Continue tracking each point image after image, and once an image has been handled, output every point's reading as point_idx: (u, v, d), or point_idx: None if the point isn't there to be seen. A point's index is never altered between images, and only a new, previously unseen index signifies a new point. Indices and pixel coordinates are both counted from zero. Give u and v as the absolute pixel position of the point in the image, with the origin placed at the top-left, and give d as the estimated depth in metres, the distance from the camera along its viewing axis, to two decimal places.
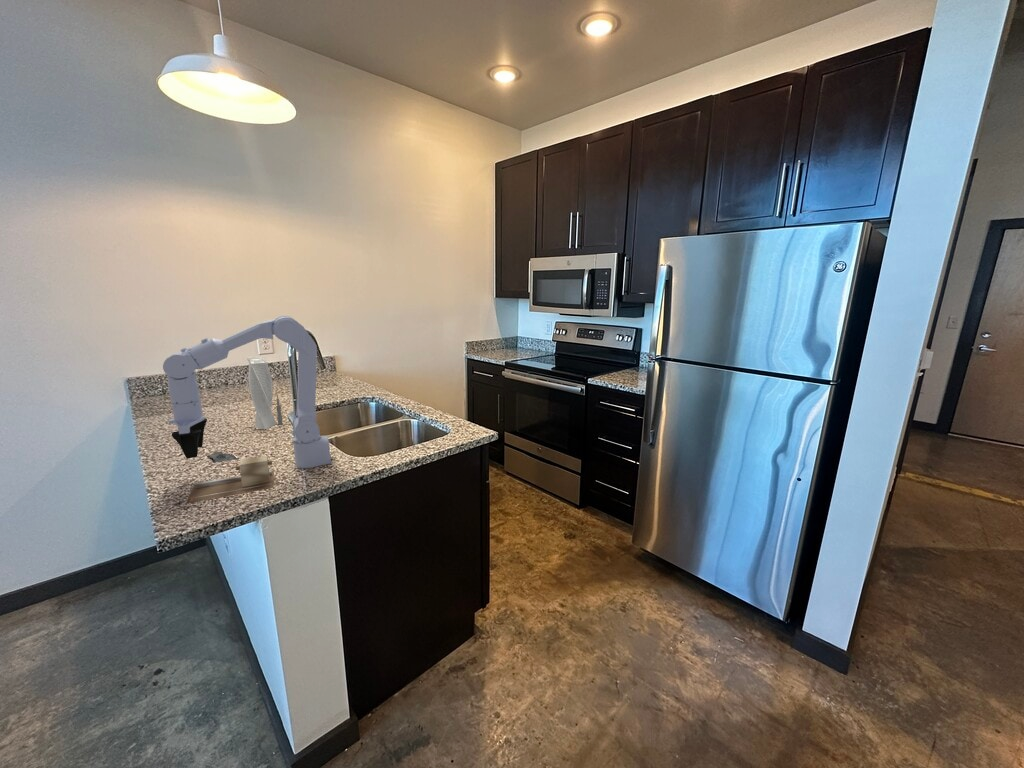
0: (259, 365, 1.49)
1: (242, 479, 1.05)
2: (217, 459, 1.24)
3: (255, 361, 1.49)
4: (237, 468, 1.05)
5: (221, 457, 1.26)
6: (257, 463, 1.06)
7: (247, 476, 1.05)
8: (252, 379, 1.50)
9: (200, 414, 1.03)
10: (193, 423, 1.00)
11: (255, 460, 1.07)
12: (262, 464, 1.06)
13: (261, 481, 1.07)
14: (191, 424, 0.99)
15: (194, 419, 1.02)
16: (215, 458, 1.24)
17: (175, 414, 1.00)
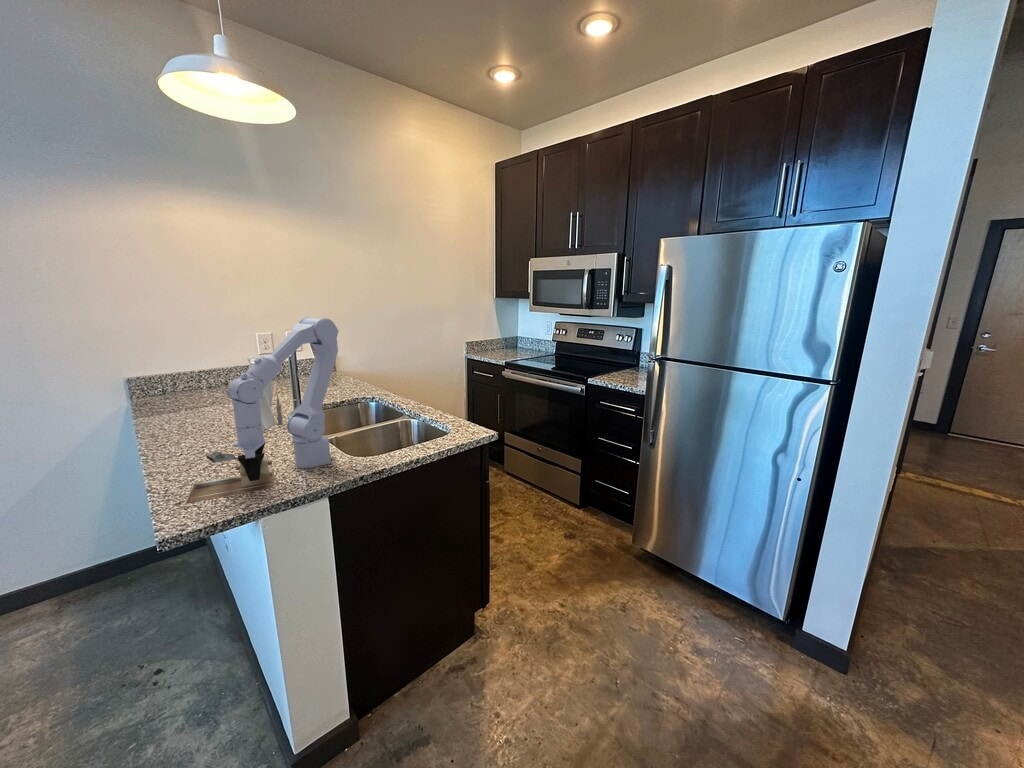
0: None
1: (242, 479, 1.05)
2: (217, 459, 1.24)
3: None
4: (237, 468, 1.05)
5: (220, 457, 1.25)
6: None
7: (247, 476, 1.05)
8: None
9: (262, 437, 1.06)
10: (257, 447, 1.03)
11: None
12: (262, 464, 1.06)
13: (261, 481, 1.07)
14: (256, 448, 1.02)
15: (257, 443, 1.04)
16: (214, 458, 1.24)
17: (239, 438, 1.03)
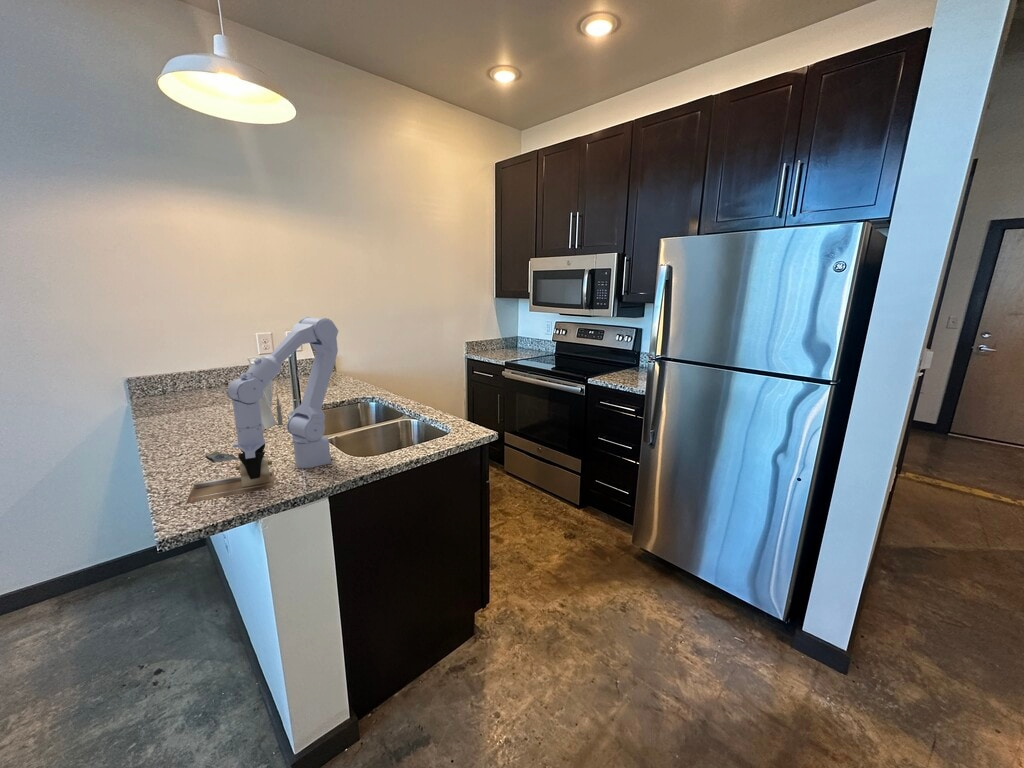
0: None
1: (242, 479, 1.05)
2: (216, 459, 1.24)
3: None
4: (237, 468, 1.05)
5: (220, 457, 1.25)
6: None
7: (247, 476, 1.05)
8: None
9: (262, 438, 1.06)
10: (257, 447, 1.03)
11: None
12: (262, 464, 1.06)
13: (261, 481, 1.07)
14: (256, 448, 1.02)
15: (257, 443, 1.04)
16: (214, 458, 1.24)
17: (240, 438, 1.03)
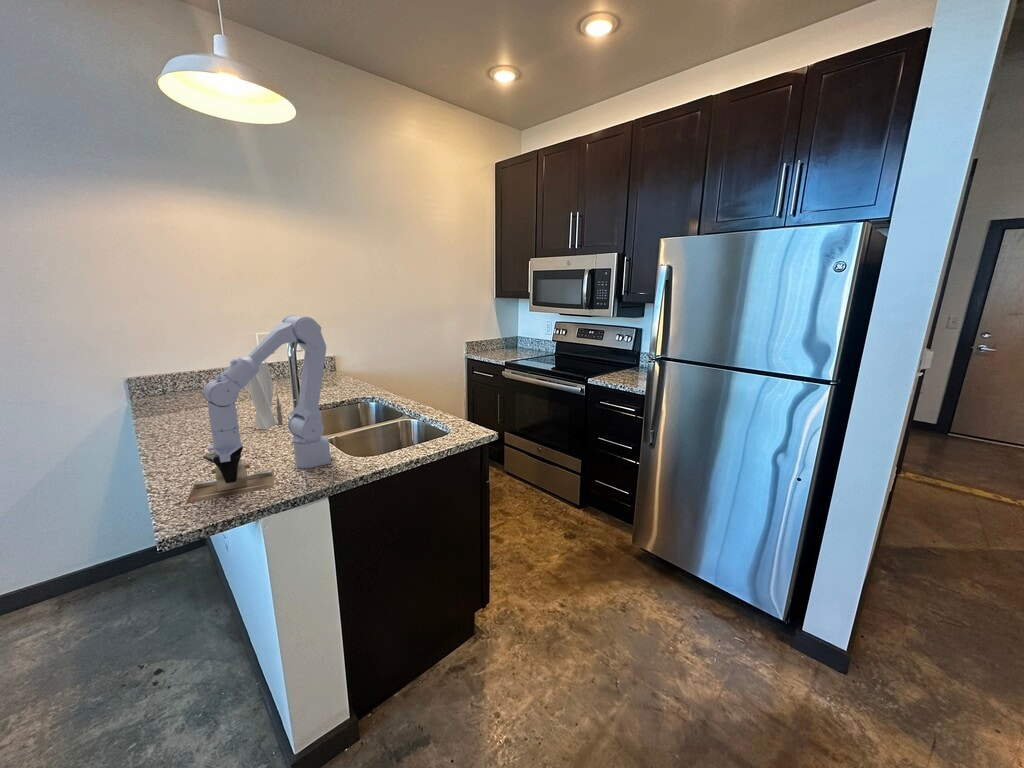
0: (259, 365, 1.49)
1: (218, 483, 1.02)
2: None
3: None
4: (213, 472, 1.02)
5: None
6: None
7: (223, 480, 1.03)
8: (252, 379, 1.50)
9: (239, 441, 1.03)
10: (233, 451, 1.00)
11: None
12: (238, 467, 1.04)
13: (238, 485, 1.04)
14: (231, 452, 0.99)
15: (233, 446, 1.02)
16: (213, 458, 1.24)
17: (215, 441, 1.00)
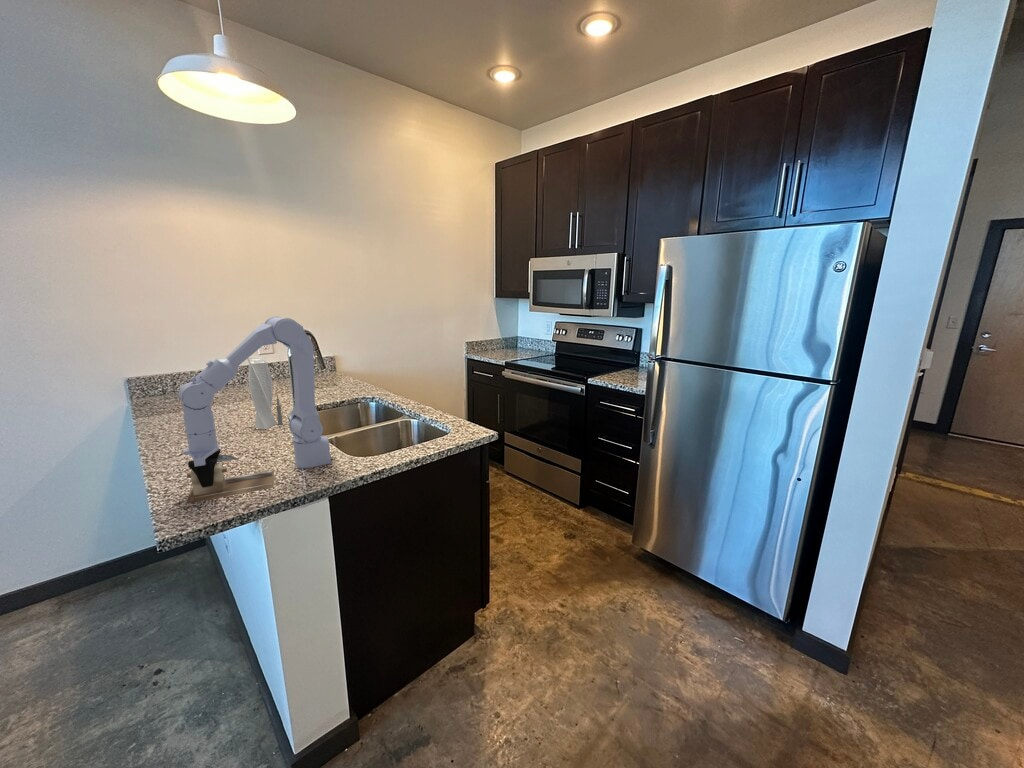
0: (259, 365, 1.49)
1: (193, 487, 1.00)
2: None
3: (255, 361, 1.49)
4: (188, 476, 1.00)
5: (218, 458, 1.25)
6: None
7: (199, 484, 1.00)
8: (252, 379, 1.50)
9: (215, 444, 1.01)
10: (208, 454, 0.98)
11: None
12: (215, 471, 1.01)
13: (214, 489, 1.02)
14: (206, 455, 0.97)
15: (209, 450, 0.99)
16: None
17: (190, 445, 0.98)
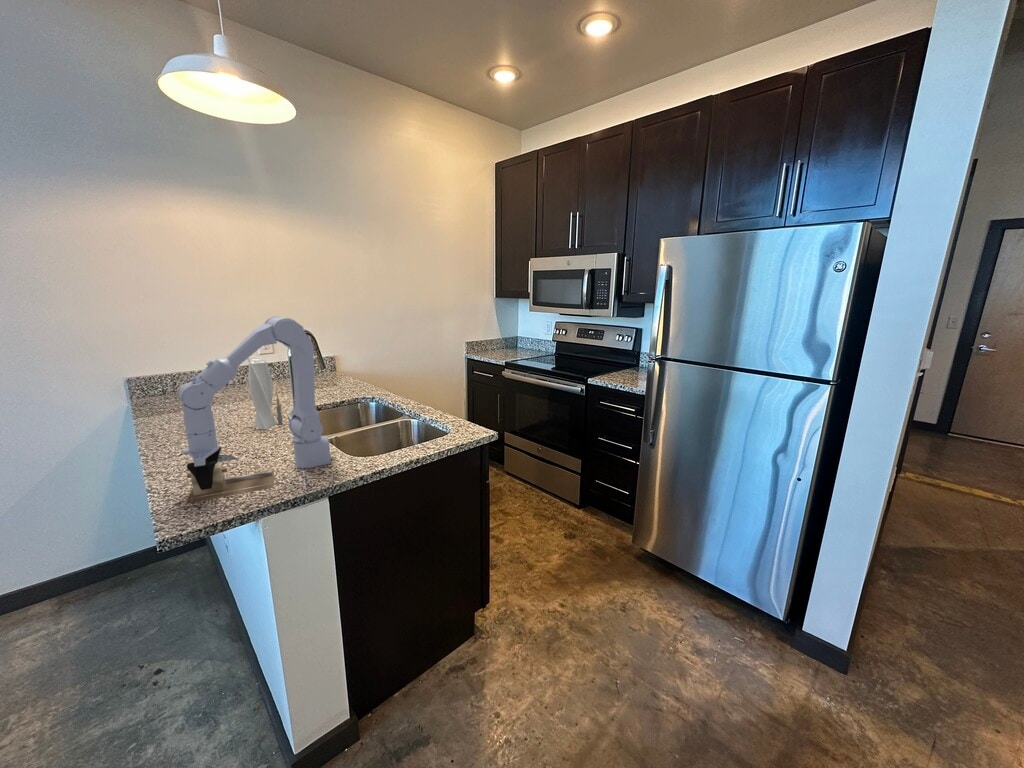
0: (259, 365, 1.49)
1: (193, 487, 1.00)
2: None
3: (255, 361, 1.49)
4: (188, 476, 1.00)
5: (218, 458, 1.25)
6: None
7: None
8: (252, 379, 1.50)
9: (215, 444, 1.01)
10: (208, 454, 0.98)
11: None
12: (215, 471, 1.01)
13: (214, 489, 1.02)
14: (206, 455, 0.97)
15: (209, 450, 0.99)
16: None
17: (190, 445, 0.98)
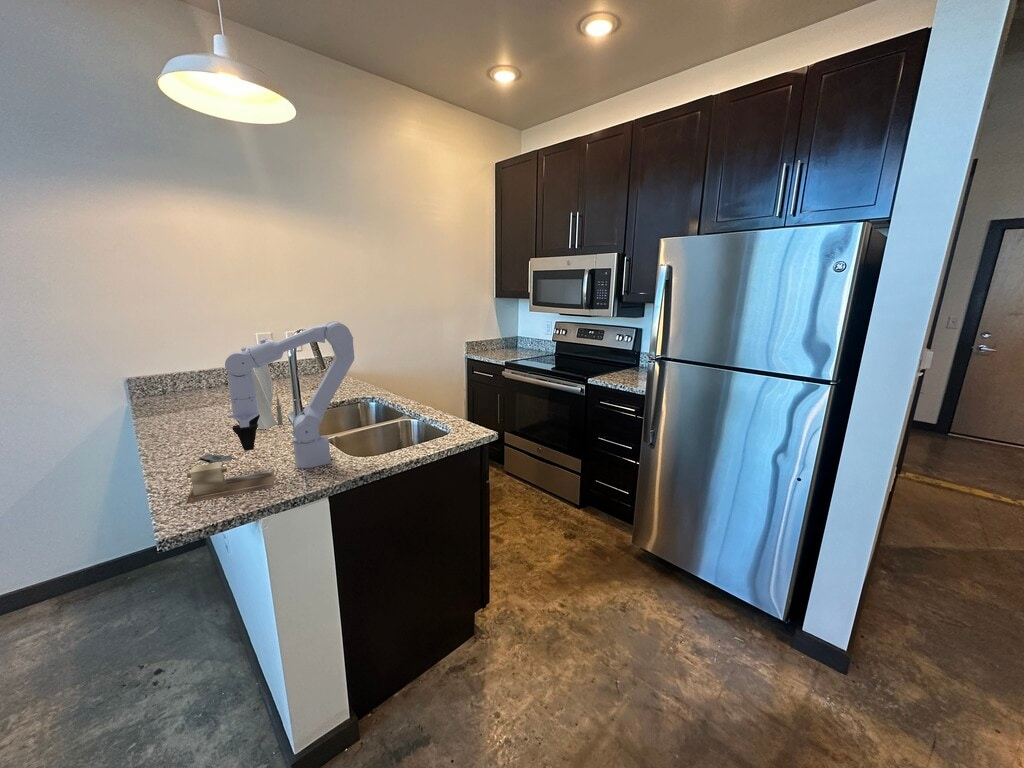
0: None
1: (193, 487, 1.00)
2: (215, 460, 1.23)
3: None
4: (188, 476, 1.00)
5: (217, 458, 1.25)
6: (210, 470, 1.01)
7: (199, 484, 1.00)
8: None
9: (256, 409, 1.10)
10: (251, 417, 1.07)
11: (208, 467, 1.02)
12: (215, 471, 1.01)
13: (214, 489, 1.02)
14: (250, 418, 1.06)
15: (251, 414, 1.08)
16: (212, 459, 1.23)
17: (234, 409, 1.07)
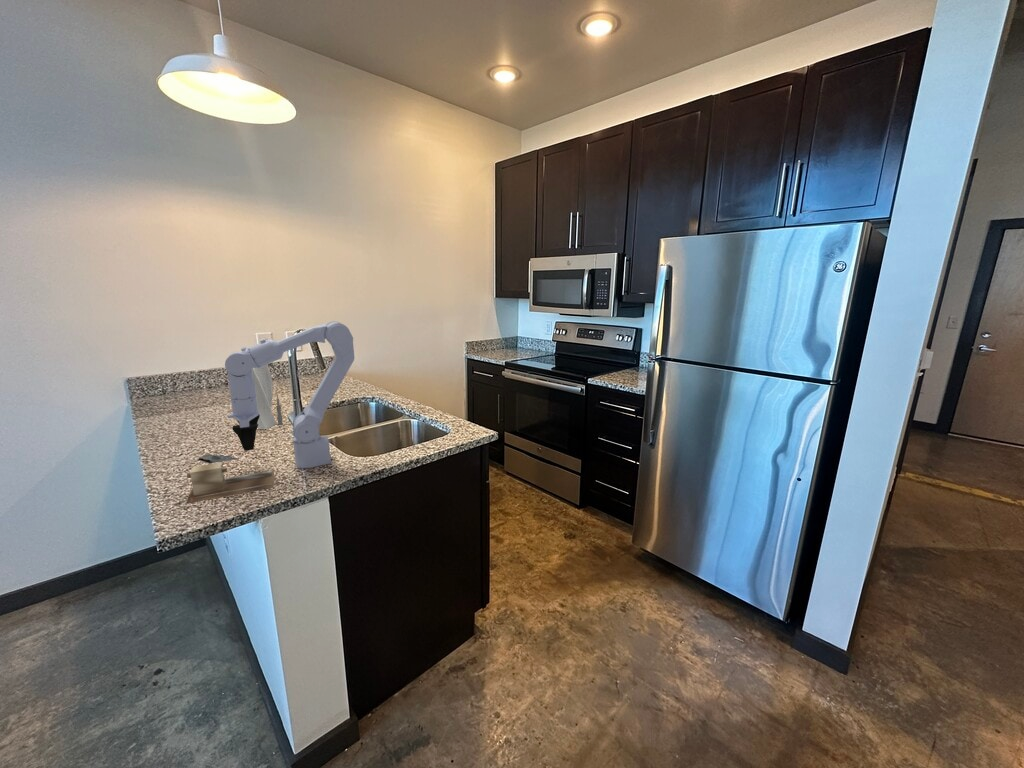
0: None
1: (193, 487, 1.00)
2: (214, 460, 1.23)
3: None
4: (188, 476, 1.00)
5: (217, 458, 1.25)
6: (210, 470, 1.01)
7: (199, 484, 1.00)
8: None
9: (256, 409, 1.10)
10: (251, 417, 1.07)
11: (208, 467, 1.02)
12: (215, 471, 1.01)
13: (214, 489, 1.02)
14: (250, 418, 1.06)
15: (251, 414, 1.08)
16: (211, 459, 1.23)
17: (234, 409, 1.07)
